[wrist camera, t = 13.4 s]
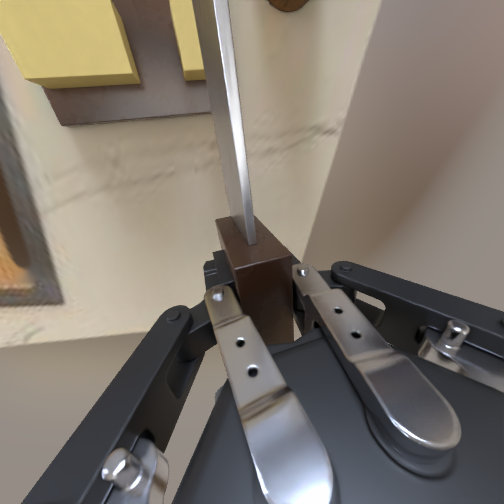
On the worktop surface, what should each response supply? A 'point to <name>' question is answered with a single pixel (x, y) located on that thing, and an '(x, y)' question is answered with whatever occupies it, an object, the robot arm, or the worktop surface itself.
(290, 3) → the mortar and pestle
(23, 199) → the worktop surface
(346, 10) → the worktop surface
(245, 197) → the knife
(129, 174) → the worktop surface
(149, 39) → the butter board
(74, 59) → the butter stick
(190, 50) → the butter pat
